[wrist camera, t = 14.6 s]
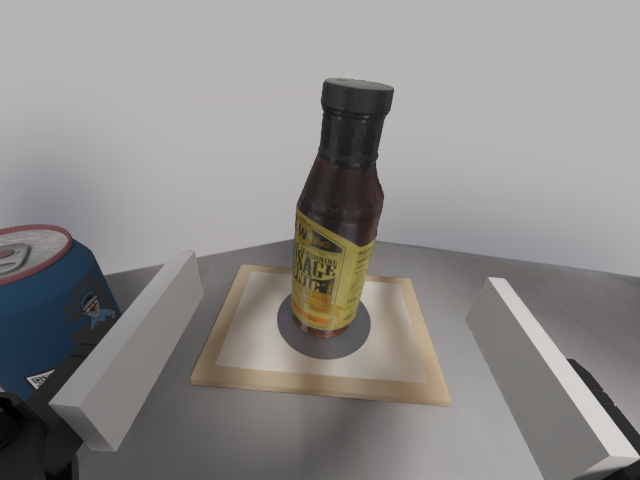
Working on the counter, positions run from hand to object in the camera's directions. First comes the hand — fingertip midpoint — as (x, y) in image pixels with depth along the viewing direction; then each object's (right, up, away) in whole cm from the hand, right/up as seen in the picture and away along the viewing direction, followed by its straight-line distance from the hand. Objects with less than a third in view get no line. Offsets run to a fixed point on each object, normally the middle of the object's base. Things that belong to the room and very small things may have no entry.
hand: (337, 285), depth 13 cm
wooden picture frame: (0, -6, +14) cm, 16 cm away
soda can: (-19, -9, +9) cm, 22 cm away
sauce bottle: (0, -5, +14) cm, 15 cm away
